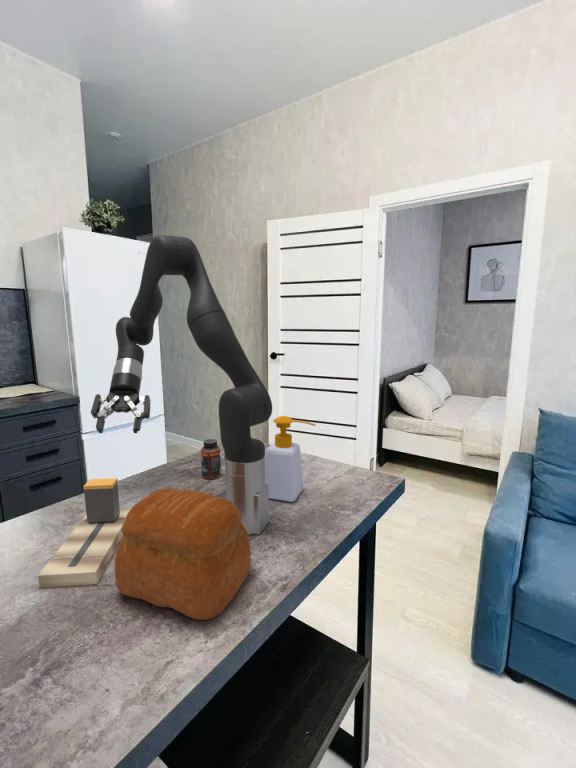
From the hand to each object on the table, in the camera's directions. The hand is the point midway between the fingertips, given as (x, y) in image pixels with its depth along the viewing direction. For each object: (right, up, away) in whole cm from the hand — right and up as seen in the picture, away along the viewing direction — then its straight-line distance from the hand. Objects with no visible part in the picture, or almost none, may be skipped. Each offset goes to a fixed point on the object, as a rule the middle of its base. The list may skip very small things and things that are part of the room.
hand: (117, 432), depth 100 cm
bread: (+25, -25, -28) cm, 45 cm away
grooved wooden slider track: (+2, -23, -17) cm, 28 cm away
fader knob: (+1, -18, -11) cm, 21 cm away
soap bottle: (+44, -18, +7) cm, 49 cm away
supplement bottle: (+20, -16, +20) cm, 33 cm away
